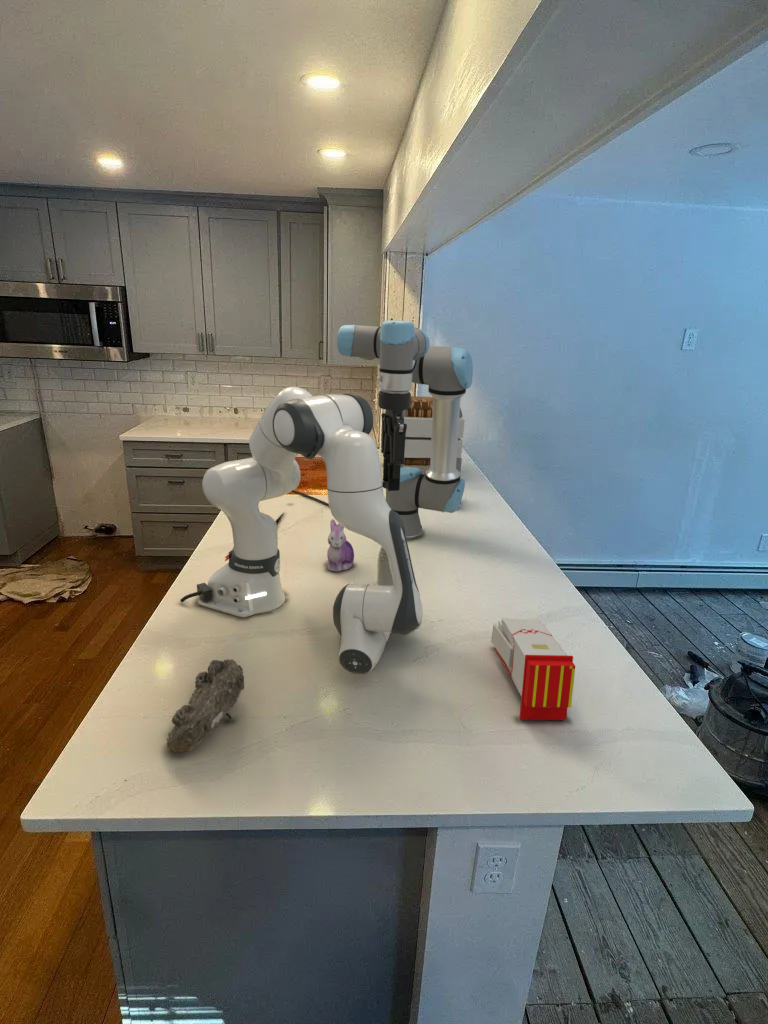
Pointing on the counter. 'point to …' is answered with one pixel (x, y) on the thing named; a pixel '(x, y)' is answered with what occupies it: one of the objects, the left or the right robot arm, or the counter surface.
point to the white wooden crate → (423, 433)
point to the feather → (279, 518)
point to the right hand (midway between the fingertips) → (390, 486)
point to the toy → (535, 667)
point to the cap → (385, 483)
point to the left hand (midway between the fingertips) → (386, 596)
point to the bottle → (384, 569)
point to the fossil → (206, 705)
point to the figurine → (339, 549)
